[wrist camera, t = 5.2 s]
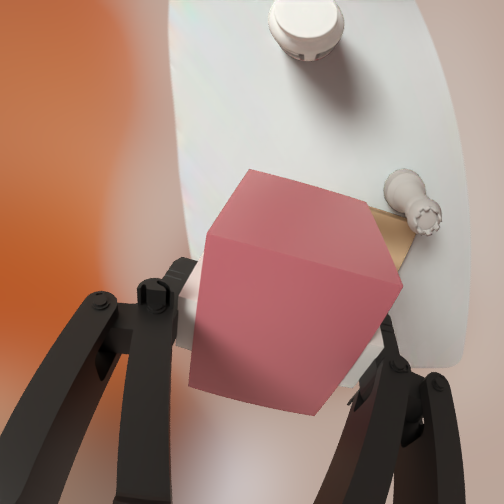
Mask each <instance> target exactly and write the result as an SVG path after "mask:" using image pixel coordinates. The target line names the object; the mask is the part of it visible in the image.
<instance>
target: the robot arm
mask: <svg viewBox="0 0 504 504" xmlns="http://www.w3.org/2000/svg"><path fill="white" fill-rule="evenodd" d="M203 256H204V252H203V254H202V255H201V257H200V259H199V261H195V260H192V259H188V258H184V257H181V258H179V259H178V260H176V261H174V262H173V264H172V265H171V266H170V268H169V270H168V271H167V272H166V274H165V276H164V277H163V278H162V279H159V278H150V279H146V280H144V281H142V282H141V283H140V284H139V286H138V287H137V298H138V303H136V304H127V303H117V298H116V297H115V296H114V295H113V294H111V293H109V292H105V291H98V292H94V293H92V294H90V295H89V296H87V297H86V299H85V300H84V301H83V302H82V304H81V305H80V307H79V308H78V309H77V311H76V312H75V314H74V315H73V317H72V318H71V319H70V321H69V322H68V324H67V325H66V327H65V328H64V329H63V331H62V332H61V334H60V335H59V337H58V338H57V340H56V341H55V343H54V344H53V346H52V347H51V349H50V350H49V352H48V354H47V355H46V357H45V358H44V360H43V361H42V363H41V365H40V366H39V368H38V369H37V371H36V373H35V374H34V376H33V378H32V380H31V381H30V383H29V384H28V386H27V388H26V389H25V391H24V393H23V395H22V396H21V398H20V400H19V402H18V404H17V406H16V407H15V409H14V411H13V413H12V415H11V416H10V418H9V420H8V422H7V424H6V426H5V428H4V430H3V432H2V434H1V436H0V504H58V502H59V500H60V497H61V494H62V491H63V489H64V485H65V483H66V480H67V478H68V475H69V472H70V470H71V467H72V465H73V462H74V460H75V457H76V454H77V452H78V449H79V447H80V445H81V442H82V440H83V437H84V435H85V433H86V430H87V428H88V426H89V423H90V421H91V419H92V417H93V414H94V412H95V410H96V408H97V405H98V403H99V401H100V399H101V397H102V394H103V392H104V390H105V388H106V386H107V383H108V381H109V379H110V377H111V375H112V373H113V371H114V369H115V367H116V365H117V363H118V361H119V358H120V356H121V354H129V358H128V365H127V372H126V379H125V386H124V394H123V403H122V412H121V422H120V433H119V447H118V462H117V488H116V496H115V498H114V500H113V504H172V485H171V456H170V392H171V361H172V345H173V343H174V341H175V339H176V346H178V347H181V348H185V349H188V350H191V351H192V344H193V335H194V326H195V317H196V309H197V301H198V293H199V285H200V278H201V270H202V263H203ZM392 326H393V325H392V321H391V317H390V316H389V315H388V313H387V315H386V317H385V318H384V320H383V321H382V323H381V325H380V326H379V328H378V329H377V331H376V332H375V334H374V335H373V337H372V339H371V340H370V342H369V343H368V345H367V346H366V348H365V349H364V351H363V352H362V353H361V355H360V356H359V358H358V359H357V361H356V362H355V364H354V365H353V366H352V368H351V369H350V371H349V372H348V373H347V375H346V376H345V377H344V379H343V380H342V381H341V383H340V384H339V385H338V386H342V387H348V388H353V387H354V386H355V385H356V384H357V382H358V381H359V385H360V389H359V390H358V391H357V392H356V394H355V395H354V396H353V397H352V398H351V399H350V401H349V402H348V404H347V405H350V404H351V402H352V406H351V409H350V412H349V415H348V418H347V421H346V424H345V427H344V430H343V432H342V435H341V438H340V441H339V443H338V446H337V449H336V452H335V454H334V457H333V459H332V462H331V464H330V466H329V469H328V472H327V474H326V476H325V479H324V481H323V483H322V486H321V488H320V490H319V492H318V495H317V497H316V499H315V501H314V503H313V504H385V502H386V498H387V495H388V492H389V488H390V485H391V481H392V477H393V473H394V495H393V497H394V498H393V504H466V502H465V483H464V471H463V461H462V452H461V444H460V437H459V431H458V425H457V420H456V413H455V409H454V403H453V398H452V394H451V389H450V385H449V383H448V381H447V379H446V378H445V377H444V376H443V375H441V374H439V373H437V372H431V373H430V374H428V375H427V376H426V377H425V378H424V377H422V376H420V375H418V374H415V373H413V372H411V367H410V365H409V363H408V362H407V361H406V359H405V358H403V357H402V356H400V354H399V350H398V346H397V341H396V337H395V334H394V329H393V327H392ZM423 417H424V424H423V421H422V418H423Z"/></svg>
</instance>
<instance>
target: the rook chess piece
mask: <svg viewBox="0 0 504 504" xmlns="http://www.w3.org/2000/svg"><path fill="white" fill-rule="evenodd" d="M383 191H384V196H385V199H386V201H387V202H388V204H389V205H390V206H391V207H392V208H393V209H395V210H396V211H398V212H401V213H405V216H406V218H407V222H408V226H409V227H410V229H411V230H412V231H413V232H415V233H416V234H421V235H424V234H426V235H427V236H430V235H432V231H433V230H436V231H438V230H439V228H440V226H439V224H440V222H442V214H441V208H440V206H439V204H438V203H437V202H435V201H434V200H432V199H430V198H429V197H427V196H426V190H425V184H424V183H423V181H422V179H421V178H420V177H419V175H418V174H417V173H415V172H414V171H412V170H409V169H400V170H396V171H395V172H393V173H392V174H390V175H389V177H388V178H387V180H386V181H385V184H384V190H383Z"/></svg>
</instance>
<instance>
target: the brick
mask: <svg viewBox="0 0 504 504" xmlns="http://www.w3.org/2000/svg"><path fill="white" fill-rule="evenodd" d="M402 288H403V284H402V282H401V279H400V277H399V274H398V272H397V269H396V267H395V264H394V262H393V260H392V257H391V255H390V253H389V250H388V248H387V246H386V243H385V241H384V239H383V237H382V234H381V232H380V230H379V228H378V226H377V224H376V221H375V219H374V217H373V215H372V213H371V211H370V209H369V207H368V205H367V203H366V202H364V201H361V200H358V199H355V198H352V197H348V196H345V195H342V194H339V193H335V192H332V191H329V190H325V189H322V188H319V187H315V186H312V185H308V184H305V183H301V182H297V181H294V180H290V179H286V178H283V177H279V176H275V175H271V174H267V173H263V172H259V171H255V170H251V169H249V170H248V172H247V173H246V175H245V176H244V178H243V179H242V181H241V182H240V183H239V185H238V186H237V188H236V189H235V191H234V192H233V194H232V195H231V197H230V198H229V200H228V202H227V203H226V205H225V206H224V208H223V209H222V211H221V212H220V214H219V215H218V217H217V218H216V220H215V221H214V223H213V225H212V226H211V228H210V229H209V231H208V232H207V236H206V242H205V249H204V256H203V263H202V270H201V278H200V285H199V293H198V301H197V309H196V317H195V326H194V335H193V344H192V353H191V363H190V373H189V384H188V386H189V387H192V388H195V389H199V390H202V391H205V392H209V393H212V394H216V395H219V396H223V397H227V398H231V399H234V400H238V401H242V402H246V403H251V404H255V405H260V406H264V407H268V408H273V409H278V410H283V411H288V412H294V413H299V414H305V415H312V416H315V415H316V413H317V412H318V411H319V410H320V408H321V407H322V406H323V405H324V404H325V402H326V401H327V400H328V398H329V397H330V396H331V395H332V393H333V392H334V391H335V389H336V388H337V387H338V385H339V384H340V383H341V381H342V380H343V379H344V377H345V376H346V375H347V373H348V372H349V371H350V369H351V368H352V366H353V365H354V364H355V362H356V361H357V359H358V358H359V356H360V355H361V353H362V352H363V351H364V349H365V348H366V346H367V345H368V343H369V342H370V340H371V339H372V337H373V335H374V334H375V332H376V331H377V329H378V328H379V326H380V325H381V323H382V321H383V320H384V318H385V317H386V315H387V313H388V312H389V310H390V308H391V307H392V305H393V303H394V302H395V300H396V298H397V296H398V295H399V293H400V291H401V289H402Z"/></svg>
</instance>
